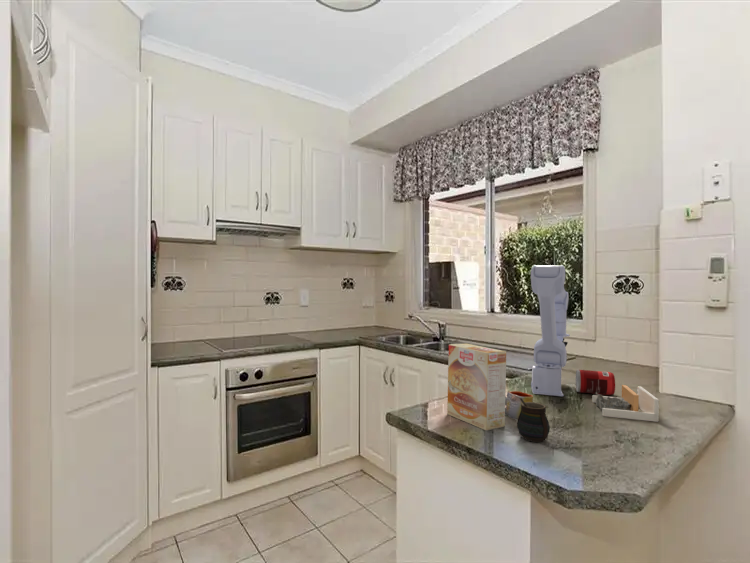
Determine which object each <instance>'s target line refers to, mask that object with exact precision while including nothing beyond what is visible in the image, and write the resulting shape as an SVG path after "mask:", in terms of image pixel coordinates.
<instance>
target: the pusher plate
mask: <svg viewBox="0 0 750 563" xmlns="http://www.w3.org/2000/svg"><path fill="white" fill-rule="evenodd" d="M621 398H623V399H624V400H625V401H627V402H628V403H629V404H631V405H630V411H639V407H638V405H639V395H637V392H635V391H634V390H632V389H631V388H630V387H629V386H628V385H625V384H621Z"/></svg>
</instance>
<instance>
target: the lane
mask: <svg viewBox="0 0 750 563" xmlns="http://www.w3.org/2000/svg"><path fill="white" fill-rule="evenodd" d="M636 389H637V392H636V394H637V395H639V405H638V409H640V410H641V411H639V410H638V411H629V410H619V409H609V408H602V409H601V416H602V417H610V418H619V419H629V420H637V421H650V422H657V423H658V422H659V415H660V414H659V413H660V412H659V410H660V406H659V404H660V403H659V402H660V399H659V398H657V397H656V396H655V395H653V394H652V393H650V392H649V391H648V390H647V389H645V388H644V387H643V386H641V385H639V386H637V388H636ZM591 395H592V394H591ZM602 396H603V398H604V399H607V397H608V395H602ZM591 397H592V398H591V399H592V401H591V402H592V403H595V404H596V399H597V398H598V396H597V394H593V395H592V396H591ZM609 397H610V398H613V397H614V396H609ZM615 397H616V396H615ZM616 398H619V397H618V396H617V397H616Z"/></svg>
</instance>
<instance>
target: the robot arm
mask: <svg viewBox="0 0 750 563" xmlns="http://www.w3.org/2000/svg"><path fill="white" fill-rule="evenodd" d="M565 281H566V267H565V266H564V265H563V264H560V265H553V264H552V265H551V264H550V265H549V264H548V265H536V264H533V265H532V267H531V269H530V284H531V286H530V287H531V289H532V290H531V291H532V292H533V294H535V295H537V300H538V303H539V313H540V314H539V315H540V316H539V317H540V329H541V330H540V331H541V338H539V339H537V341H536V342H535V343H534V346H533V362H534V364H536V365H532V368H531V382H530V387H531V391H532V395H533V394H534V395H544V396H555V397H564V393H563V392H562V368H564V367H565V366H566V365H567V360H568V359H567V358H568V356H567V349H566V348H567V345H568V343H569V342H568V341H565V338H566V337H571V336H570V334H569V333H567V314H568V313H567V310H568V307H569V306H568V305H569V292H568V291H566V290H565V286H564V285H565Z"/></svg>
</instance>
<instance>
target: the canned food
mask: <svg viewBox="0 0 750 563" xmlns="http://www.w3.org/2000/svg"><path fill="white" fill-rule="evenodd" d="M575 389H576V390H575V391H576V392H577V393H584V394H593V395H597V394H599V395H603V396H612V395H614V394H615V392H616V378H615V374H614V373H613V372H610V371H599V370H587V369H586V370H585V369H576V372H575ZM596 392H597V394H595V393H596Z"/></svg>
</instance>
